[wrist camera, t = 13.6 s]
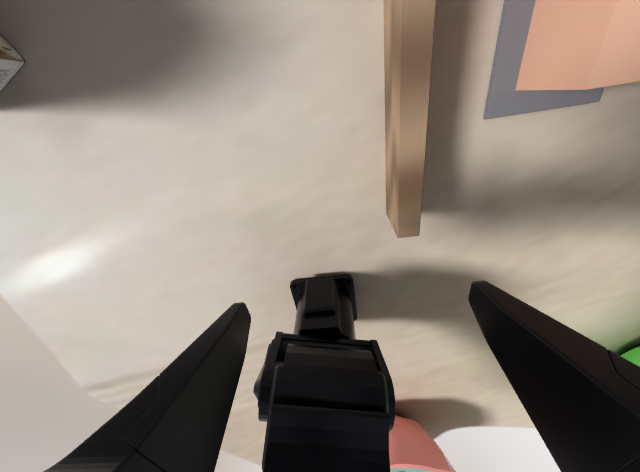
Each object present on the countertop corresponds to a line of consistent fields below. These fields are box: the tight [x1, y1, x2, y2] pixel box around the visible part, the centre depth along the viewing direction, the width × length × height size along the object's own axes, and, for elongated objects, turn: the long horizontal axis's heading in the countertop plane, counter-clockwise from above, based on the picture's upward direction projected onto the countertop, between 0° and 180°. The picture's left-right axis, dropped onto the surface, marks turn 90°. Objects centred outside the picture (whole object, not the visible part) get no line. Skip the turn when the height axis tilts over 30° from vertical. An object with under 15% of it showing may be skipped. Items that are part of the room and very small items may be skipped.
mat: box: [483, 0, 604, 119], centre depth 14 cm, size 10×7×1 cm
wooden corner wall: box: [384, 0, 436, 238], centre depth 12 cm, size 22×22×4 cm
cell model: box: [389, 415, 456, 472], centre depth 36 cm, size 17×20×11 cm
